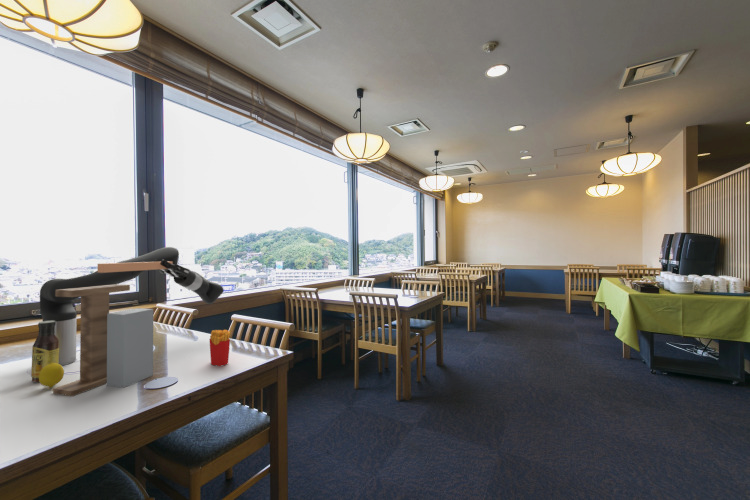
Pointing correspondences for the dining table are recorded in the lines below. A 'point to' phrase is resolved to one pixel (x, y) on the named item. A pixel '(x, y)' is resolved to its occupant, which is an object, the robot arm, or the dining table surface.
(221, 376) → the dining table surface
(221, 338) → the french fries
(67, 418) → the dining table surface
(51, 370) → the lemon
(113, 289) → the walnut shelf
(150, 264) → the terracotta bar
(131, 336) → the grey rectangular block
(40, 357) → the sauce bottle
